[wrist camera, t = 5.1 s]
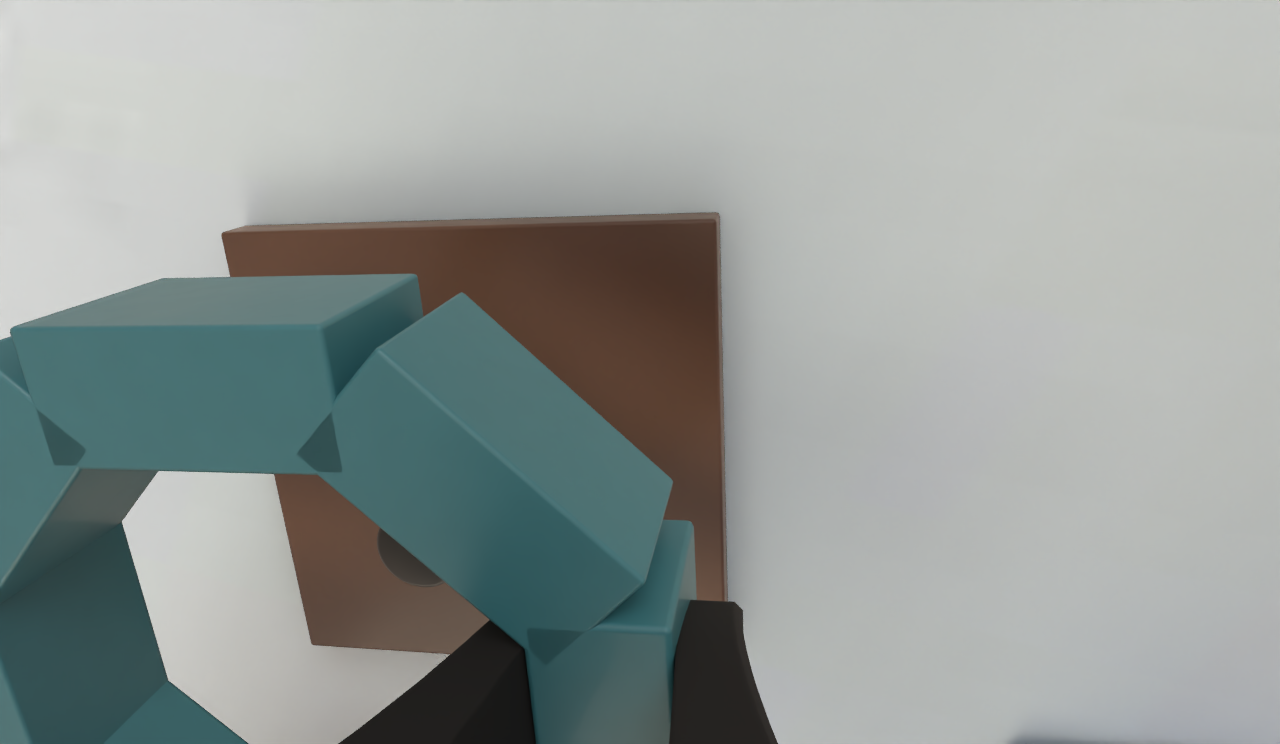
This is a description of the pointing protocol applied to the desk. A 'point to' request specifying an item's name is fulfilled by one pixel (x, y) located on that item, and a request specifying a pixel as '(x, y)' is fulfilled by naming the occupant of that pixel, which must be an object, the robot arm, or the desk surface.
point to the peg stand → (560, 339)
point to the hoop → (350, 463)
